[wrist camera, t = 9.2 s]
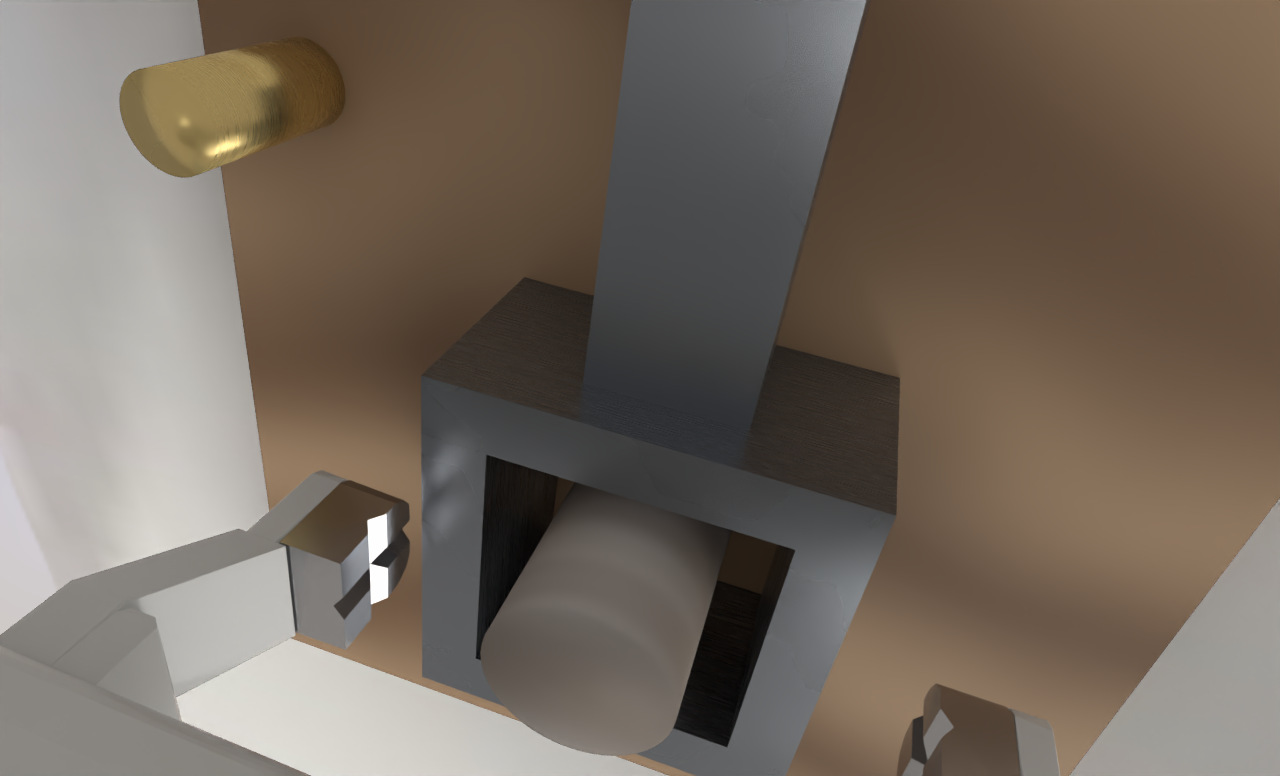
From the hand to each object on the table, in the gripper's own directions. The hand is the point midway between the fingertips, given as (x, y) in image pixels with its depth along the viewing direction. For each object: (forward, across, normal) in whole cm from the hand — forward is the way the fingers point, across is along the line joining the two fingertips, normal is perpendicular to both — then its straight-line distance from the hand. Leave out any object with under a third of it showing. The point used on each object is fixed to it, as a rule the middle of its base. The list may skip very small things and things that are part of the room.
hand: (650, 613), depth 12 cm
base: (+5, +1, 0) cm, 5 cm away
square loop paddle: (+3, +1, -3) cm, 5 cm away
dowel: (+5, +8, -6) cm, 11 cm away
